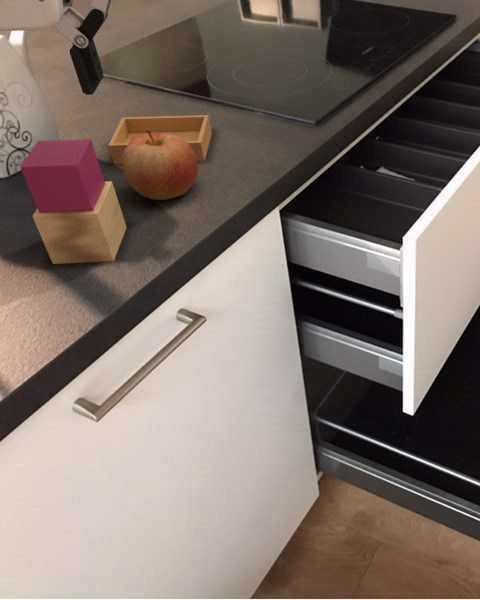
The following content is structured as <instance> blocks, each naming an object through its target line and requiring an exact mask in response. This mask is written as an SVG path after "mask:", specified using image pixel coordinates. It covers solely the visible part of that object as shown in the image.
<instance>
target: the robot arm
mask: <svg viewBox="0 0 480 600" xmlns="http://www.w3.org/2000/svg"><path fill="white" fill-rule="evenodd" d="M111 1H112V0H90V4H89V10H88V13H87V14H86V16H84V15H82V13H81V12H79V11H78V10H77V9H76V8H75V7H73V5H74V0H0V32H19V31H20V32H21V31H22V32H23V31H39V30H40V31H41V30H48V29H50V28H54V29H55V30H56V31H57V32H58V33H60V34H61V35H62V36H64V38H65V39H67V40H68V41H69V42H71V44H72V46H71V48H70V49H69V55H70V58H71V61H72V64H73V68H74V70H75V73H76V77H77V80H78V82H79V86H80V89H81V91H82V93H83V94H84V95H86V96H92V95H94V94H95V92H96V90H97V88H98V87H99V85H100V84H101V81H102V80H103V79H104V70H103V66H102V63H101V60H100V57H99V54H98V50H97V46H96V43H95V41H94V37H95V36H96V35H97V33H98V31H99V30H100V29H101V27H102V26H103V25H104V23H105V21H107V19H108V16H109V9H110V7H111Z"/></svg>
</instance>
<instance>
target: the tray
mask: <svg viewBox="0 0 480 600" xmlns="http://www.w3.org/2000/svg"><path fill="white" fill-rule="evenodd" d="M147 129H150V132H151V133H153V132H162V133H170V134H173V135H176V136H179V137H181V138H182V139H184V140H185V141H186V142H188V143H189V145H190V146H191V147H192V149H193V150H194V152H195V154H196V157H197V161H198V162H205V161H206V157H207V153H208V149H209V146H210V142H211V138H212V134H213V131H212V127H211V121H210V116H209V114H199V115H196V114H195V115H165V116H164V115H163V116H126V117H121V119H120V121H119V123H118V125H117V127H116V129H115V131H114V133H113V135H112V137H111V139H110V141H109V143H108V145H107V147H108V149H109V152H110V156H111V158H112V162H113V165H122V154H123V151H124V149H125V147H126V146H127V145H128V143H129V142H130V141H131V140H132V139H133V138H134V137H136V136H138V135H142V134H146V133H147V131H146V130H147Z"/></svg>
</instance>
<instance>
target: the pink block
mask: <svg viewBox="0 0 480 600" xmlns="http://www.w3.org/2000/svg"><path fill="white" fill-rule="evenodd" d="M20 170H21V173H22V175H23V177H24V179H25V182H26V185H27V187H28V189H29V192H30V193H31V196H32V199H33V201H34V204H35V205H36V209H37V208H38V211H39V213H51V212H77V211H93V210H94V208H95V205H96V203H97V201H98V199H99V197H100V195H101V192H102V190H103V188H104V186H105V178H104V174H103V172H102V169H101V166H100V163H99V159H98V156H97V153H96V150H95V147H94V144H93V141H92V139H90V138H89V139H88V138H87V139H58V140H57V139H56V140H53V139H52V140H37V141H36V142H35V145H34V146H33V147H32V149H31V150H30V152H29V153H28V155H27V156H26V158H25V159H24V161H23V162H22V164H21V165H20Z"/></svg>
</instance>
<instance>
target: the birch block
mask: <svg viewBox="0 0 480 600" xmlns="http://www.w3.org/2000/svg"><path fill="white" fill-rule="evenodd" d="M104 181H105V180H104ZM32 219H33V221H34V223H35V227H36V228H37V231H38V233H39V235H40V237H41V238H40V239H41V240H42V242H43V244H44V247H45V249H46V251H47V254H48V257H49V259H50V261H51V263H52V264H53V265H59V264H61V265H62V264H82V263H102V262H103V263H104V262H105V263H106V262H107V263H108V262H115V259H116V257H117V254H118V251H119V249H120V247H121V244H122V241H123V238H124V235H125V233H126V230H127V223H126V221H125V217H124V215H123V212H122V208H121V205H120V202H119V199H118V196H117V193H116V189H115V187H114V184H113V181H111V180H110V181H109V180H108V181H107V180H106V181H105V186H104V188H103V190H102V192H101V195H100V197H99V199H98V201H97V203H96V205H95V208H94V210H93V211H77V212H51V213H39V211H38V208H37V207H36V209H35V211H34V213H33V214H32Z"/></svg>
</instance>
